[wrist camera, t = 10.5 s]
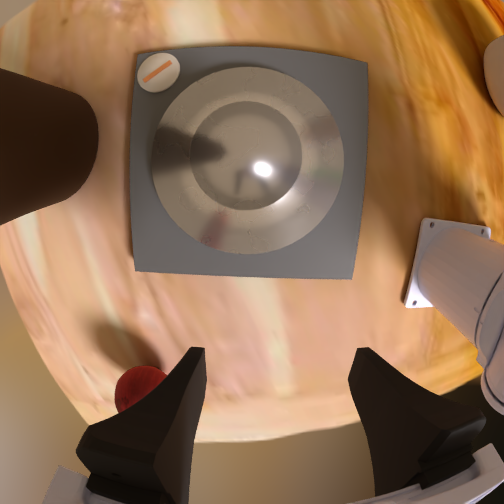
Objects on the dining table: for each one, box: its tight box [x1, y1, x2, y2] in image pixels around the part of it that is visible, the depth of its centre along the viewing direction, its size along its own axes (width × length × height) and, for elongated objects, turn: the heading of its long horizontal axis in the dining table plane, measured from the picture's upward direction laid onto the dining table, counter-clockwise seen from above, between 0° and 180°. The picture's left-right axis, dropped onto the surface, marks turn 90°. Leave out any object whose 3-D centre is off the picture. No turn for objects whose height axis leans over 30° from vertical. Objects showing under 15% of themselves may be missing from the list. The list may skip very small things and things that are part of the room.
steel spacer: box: [190, 101, 302, 210], centre depth 13 cm, size 4×4×6 cm
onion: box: [115, 366, 167, 413], centre depth 20 cm, size 6×6×8 cm
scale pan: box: [151, 67, 344, 254], centre depth 16 cm, size 12×12×1 cm
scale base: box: [130, 46, 368, 280], centre depth 17 cm, size 16×16×2 cm
